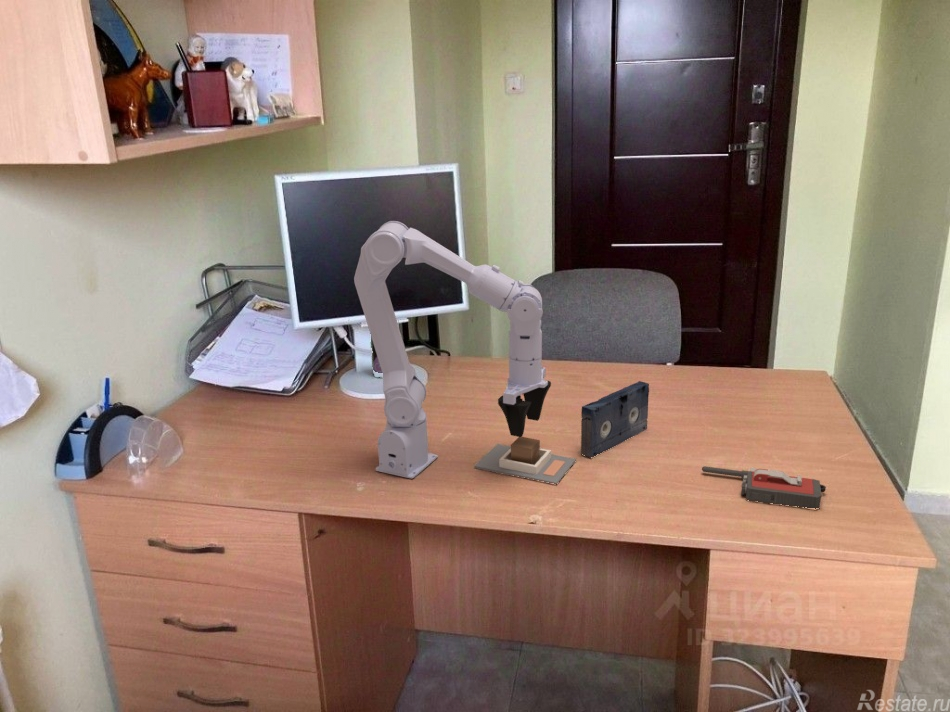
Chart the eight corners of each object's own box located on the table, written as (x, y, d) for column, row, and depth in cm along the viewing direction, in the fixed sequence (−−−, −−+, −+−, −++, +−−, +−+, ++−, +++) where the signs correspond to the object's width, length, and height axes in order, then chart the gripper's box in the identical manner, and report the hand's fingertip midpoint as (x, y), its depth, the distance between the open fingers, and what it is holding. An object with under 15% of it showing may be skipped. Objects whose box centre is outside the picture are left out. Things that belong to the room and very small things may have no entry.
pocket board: (556, 485, 135) (556, 475, 135) (474, 468, 142) (474, 458, 141) (576, 461, 144) (576, 451, 143) (497, 446, 150) (497, 436, 150)
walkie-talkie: (823, 488, 133) (701, 472, 139) (826, 465, 131) (703, 450, 138) (827, 514, 125) (697, 496, 131) (830, 490, 123) (699, 472, 130)
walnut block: (531, 468, 140) (531, 448, 139) (510, 464, 142) (510, 444, 141) (539, 459, 144) (539, 440, 142) (519, 455, 145) (519, 436, 144)
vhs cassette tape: (637, 426, 158) (639, 380, 155) (649, 430, 156) (652, 383, 153) (578, 454, 146) (579, 405, 143) (590, 459, 144) (591, 410, 141)
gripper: (530, 372, 128) (530, 447, 133) (561, 346, 140) (560, 415, 145) (491, 366, 131) (492, 440, 136) (525, 341, 143) (525, 409, 148)
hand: (525, 427), depth 140 cm, fingers open, 7 cm apart
